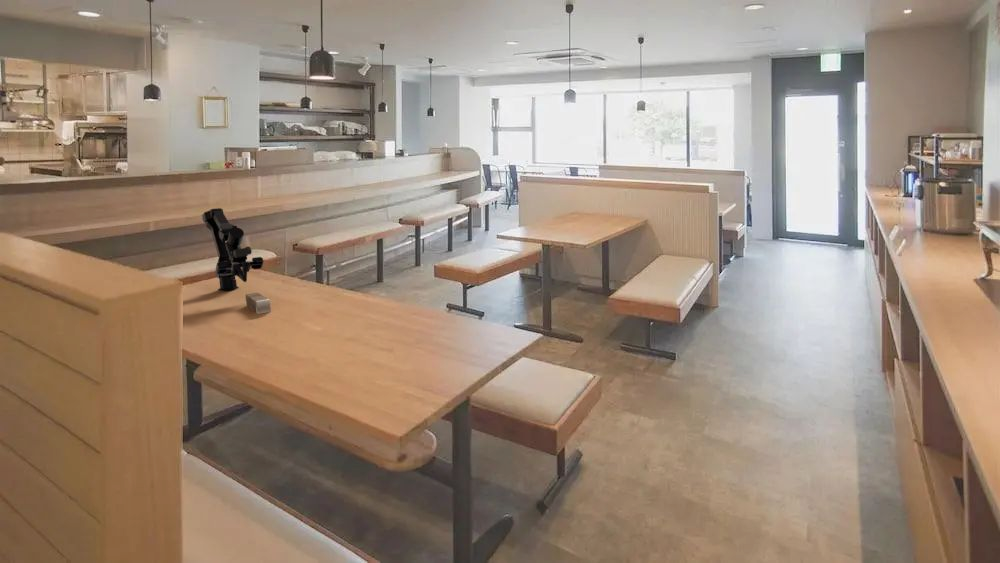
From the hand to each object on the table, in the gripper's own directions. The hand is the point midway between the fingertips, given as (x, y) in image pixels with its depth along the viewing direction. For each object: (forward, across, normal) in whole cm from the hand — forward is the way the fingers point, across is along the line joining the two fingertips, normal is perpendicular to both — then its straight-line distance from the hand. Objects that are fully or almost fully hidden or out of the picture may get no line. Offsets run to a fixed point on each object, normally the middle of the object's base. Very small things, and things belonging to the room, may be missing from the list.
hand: (245, 281), depth 265 cm
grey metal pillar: (+9, 0, 0) cm, 9 cm away
